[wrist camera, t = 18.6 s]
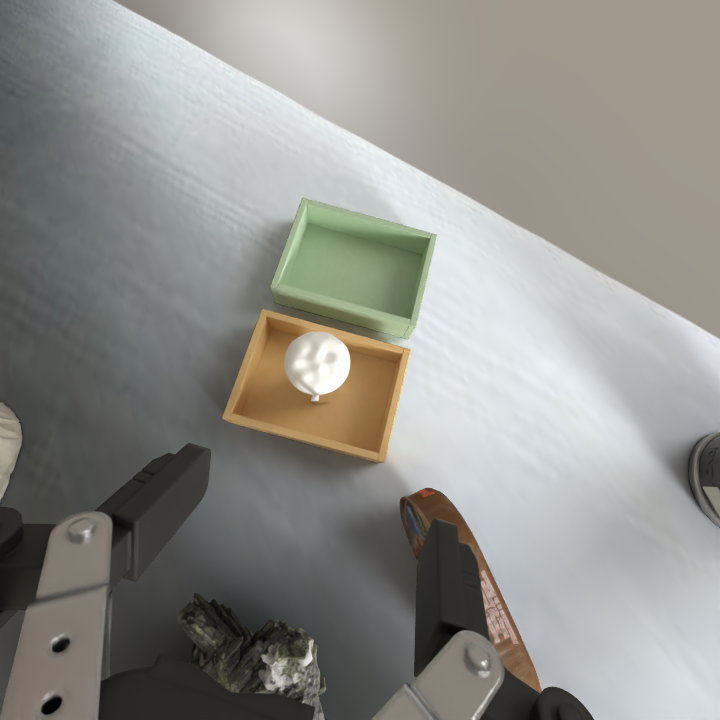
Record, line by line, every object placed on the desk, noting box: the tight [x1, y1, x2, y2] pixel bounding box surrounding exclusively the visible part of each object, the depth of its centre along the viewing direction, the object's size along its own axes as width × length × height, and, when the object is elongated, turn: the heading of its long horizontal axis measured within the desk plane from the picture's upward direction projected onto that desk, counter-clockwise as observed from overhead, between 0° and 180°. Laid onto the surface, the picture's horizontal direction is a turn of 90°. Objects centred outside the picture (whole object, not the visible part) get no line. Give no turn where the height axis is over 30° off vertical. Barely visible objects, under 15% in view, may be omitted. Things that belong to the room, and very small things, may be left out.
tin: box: [400, 488, 541, 693], centre depth 27 cm, size 15×3×8 cm, turn 23°
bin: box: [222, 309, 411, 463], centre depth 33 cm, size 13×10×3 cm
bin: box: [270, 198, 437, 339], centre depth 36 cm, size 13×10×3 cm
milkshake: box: [284, 332, 350, 404], centre depth 29 cm, size 4×5×10 cm
